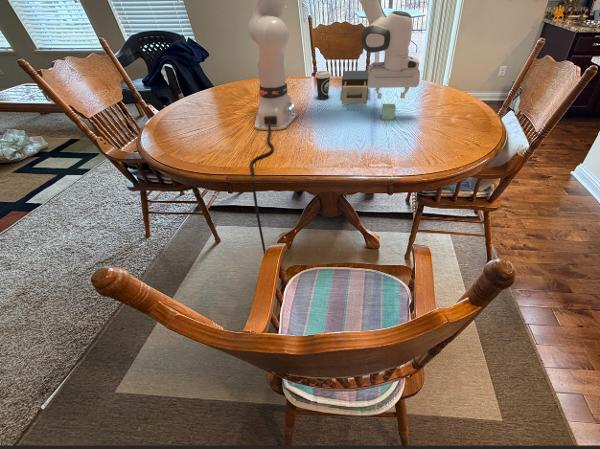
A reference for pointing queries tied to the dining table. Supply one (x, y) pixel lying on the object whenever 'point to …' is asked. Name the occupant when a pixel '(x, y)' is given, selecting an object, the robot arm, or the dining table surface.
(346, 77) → the cabinet
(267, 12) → the robot arm
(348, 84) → the drawer
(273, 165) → the dining table surface
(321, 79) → the coffee cup
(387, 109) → the block
